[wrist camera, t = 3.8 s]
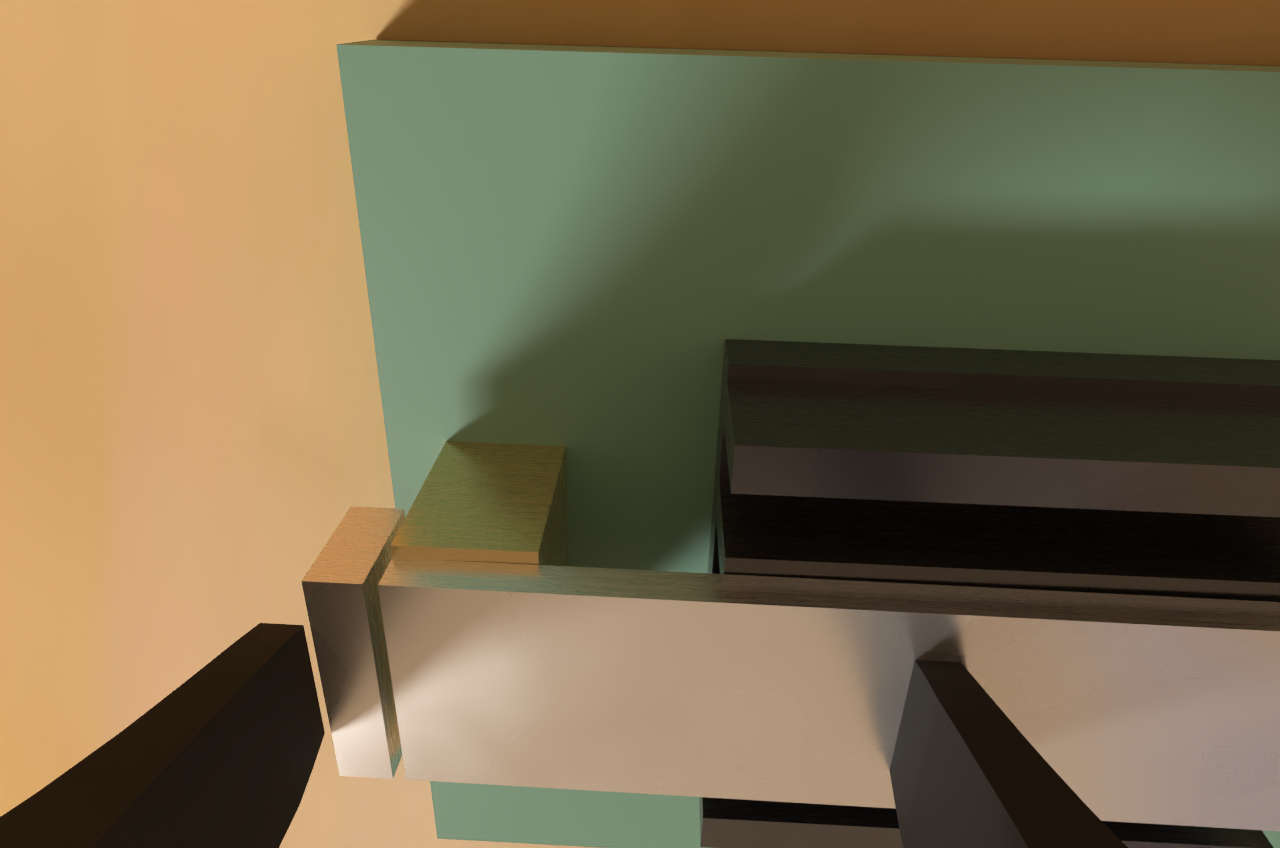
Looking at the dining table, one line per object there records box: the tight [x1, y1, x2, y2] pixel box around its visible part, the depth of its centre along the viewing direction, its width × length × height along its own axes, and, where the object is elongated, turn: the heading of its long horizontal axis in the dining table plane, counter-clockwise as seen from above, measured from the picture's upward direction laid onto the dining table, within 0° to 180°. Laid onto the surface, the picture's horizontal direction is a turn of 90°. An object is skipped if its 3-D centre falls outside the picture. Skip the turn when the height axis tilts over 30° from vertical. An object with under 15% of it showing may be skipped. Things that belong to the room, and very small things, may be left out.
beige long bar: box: [302, 506, 1280, 831], centre depth 12 cm, size 16×4×2 cm, turn 89°
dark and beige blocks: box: [391, 339, 1280, 848], centre depth 13 cm, size 16×8×4 cm, turn 89°
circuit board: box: [337, 40, 1280, 848], centre depth 15 cm, size 18×16×2 cm
